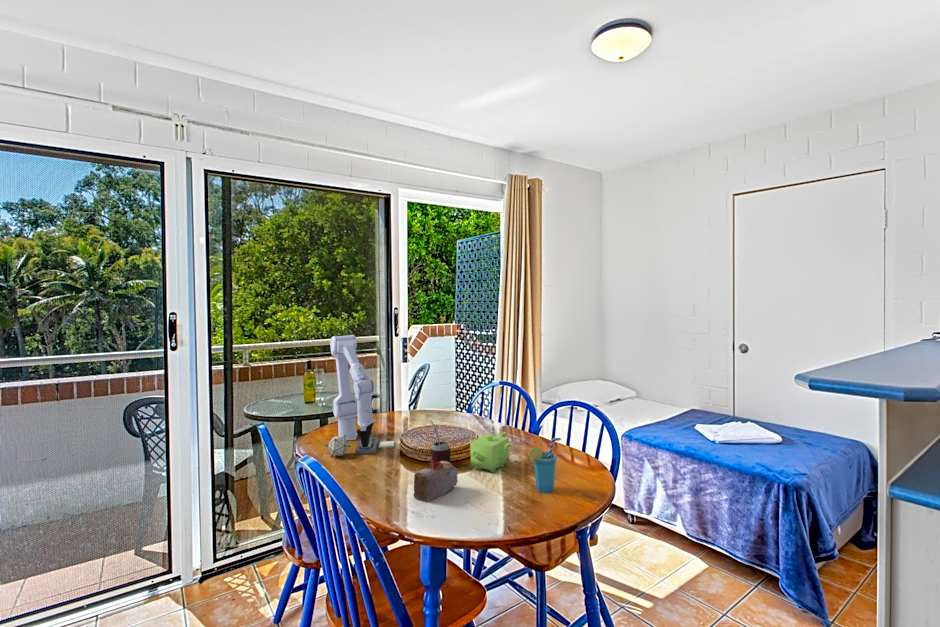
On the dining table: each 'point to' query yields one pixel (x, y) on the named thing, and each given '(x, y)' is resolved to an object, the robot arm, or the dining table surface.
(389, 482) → the dining table surface
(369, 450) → the metal frame
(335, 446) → the game die
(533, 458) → the cup
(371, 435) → the grey knob block
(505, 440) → the green knobbed block
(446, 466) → the food item
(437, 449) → the mate gourd
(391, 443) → the tray
